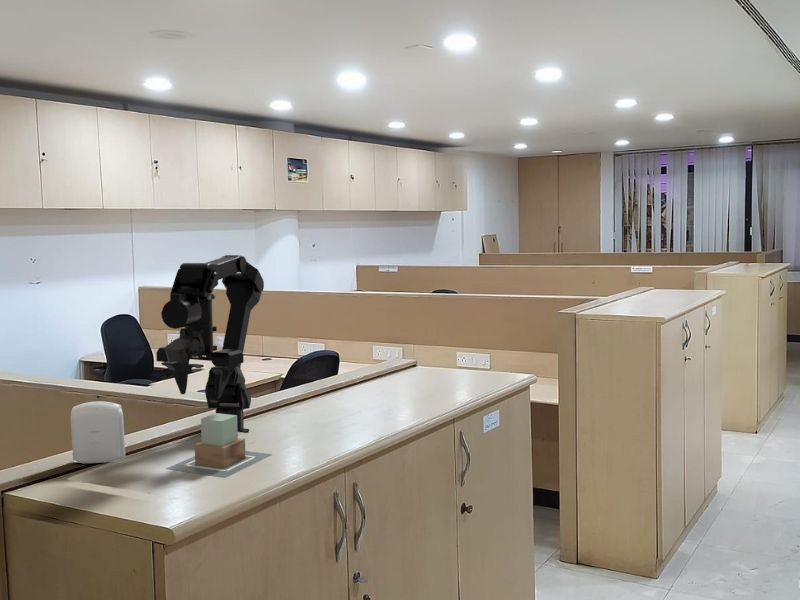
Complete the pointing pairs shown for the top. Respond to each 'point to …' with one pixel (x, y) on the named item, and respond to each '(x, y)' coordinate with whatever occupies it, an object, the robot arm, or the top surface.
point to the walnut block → (220, 454)
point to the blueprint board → (219, 472)
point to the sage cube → (219, 429)
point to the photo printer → (97, 432)
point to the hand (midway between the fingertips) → (200, 395)
